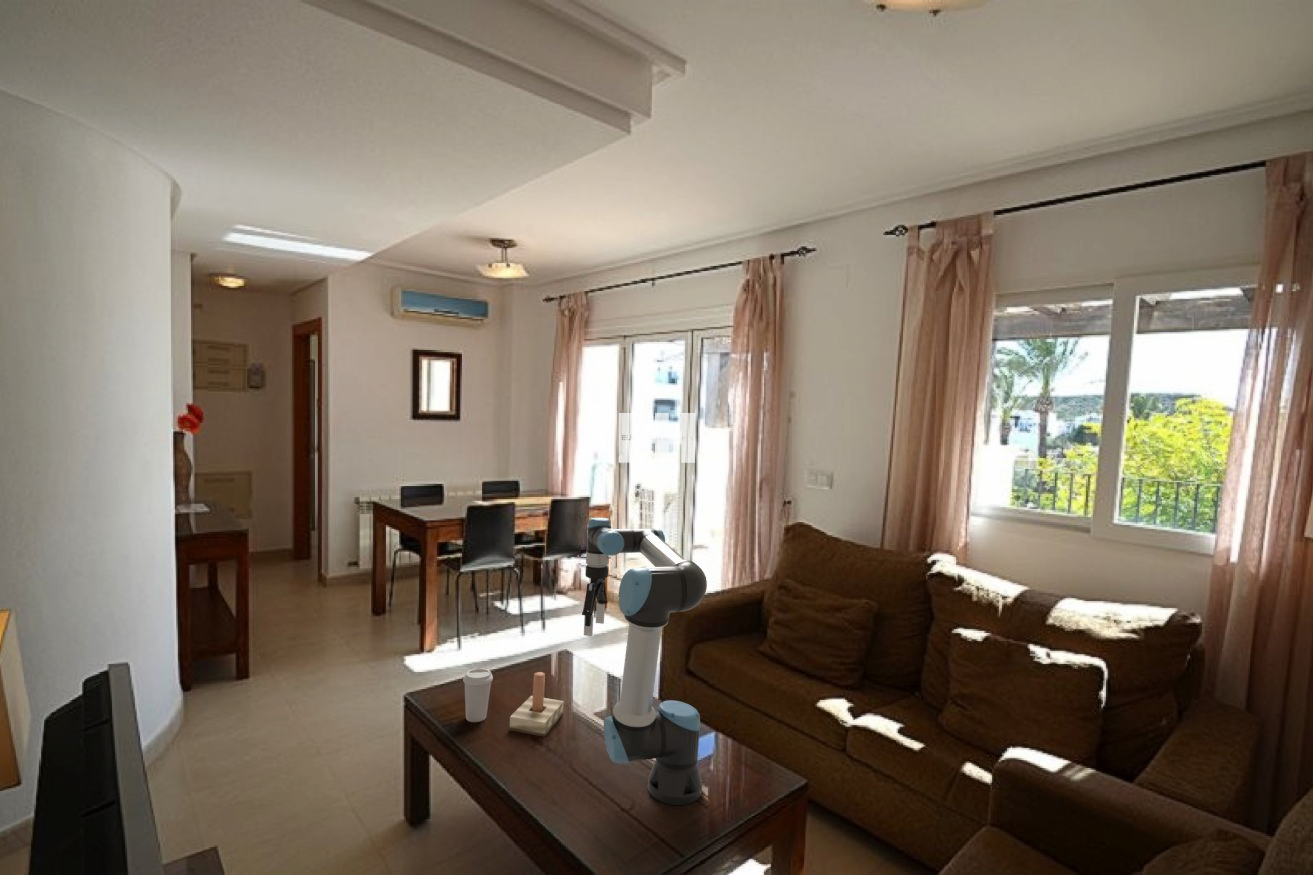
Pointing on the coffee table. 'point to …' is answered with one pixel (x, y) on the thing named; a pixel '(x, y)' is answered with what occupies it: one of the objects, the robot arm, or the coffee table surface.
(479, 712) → the coffee cup
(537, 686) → the pin
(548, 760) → the coffee table surface
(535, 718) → the bore block
